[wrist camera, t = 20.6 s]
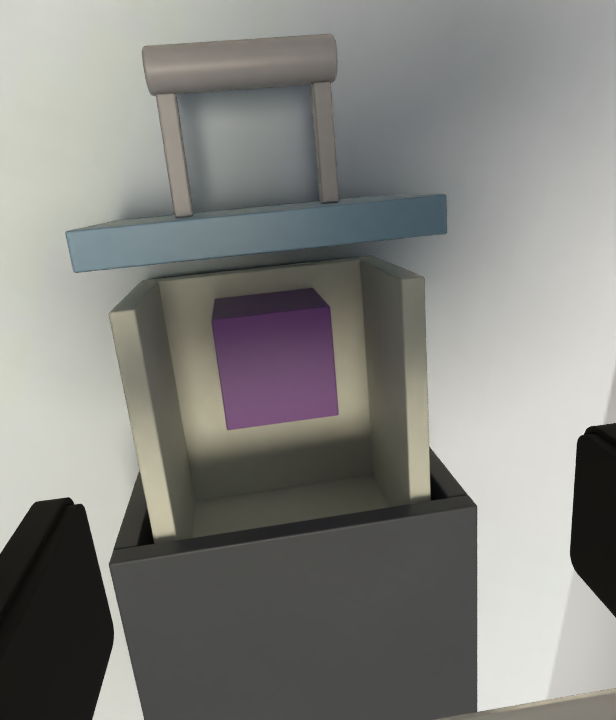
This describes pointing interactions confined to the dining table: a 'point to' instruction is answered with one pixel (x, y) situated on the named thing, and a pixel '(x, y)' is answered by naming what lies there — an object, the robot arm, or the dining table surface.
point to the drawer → (253, 236)
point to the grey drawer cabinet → (306, 614)
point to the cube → (275, 357)
